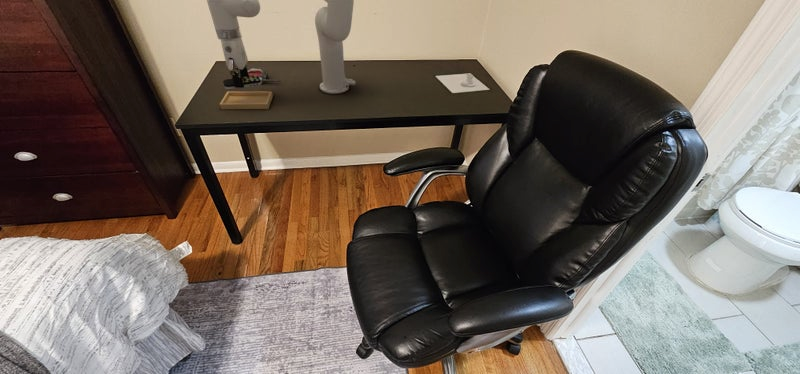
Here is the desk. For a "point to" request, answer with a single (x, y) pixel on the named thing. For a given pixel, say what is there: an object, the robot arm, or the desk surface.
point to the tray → (247, 100)
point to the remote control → (247, 82)
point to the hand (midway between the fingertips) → (242, 82)
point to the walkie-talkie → (261, 75)
